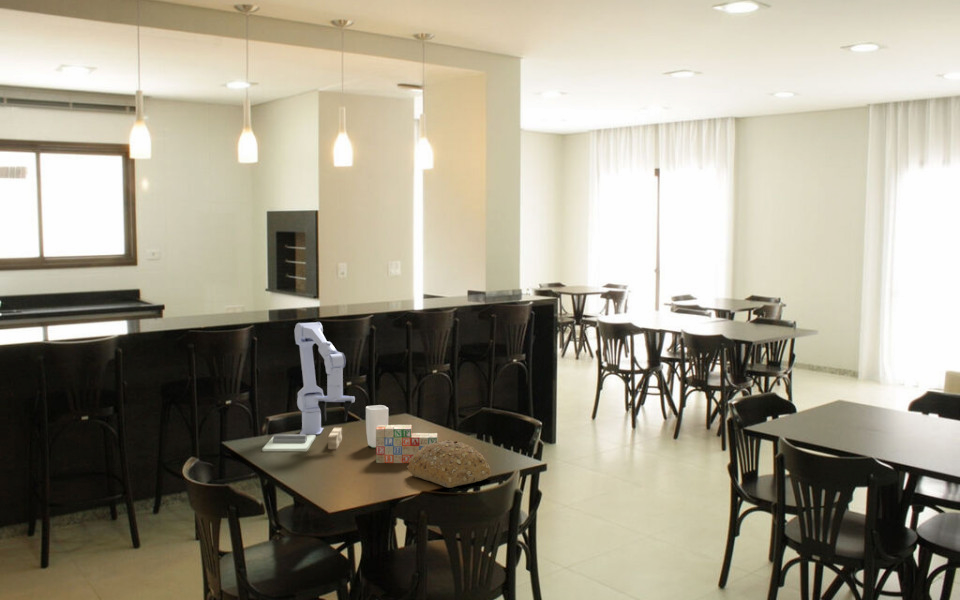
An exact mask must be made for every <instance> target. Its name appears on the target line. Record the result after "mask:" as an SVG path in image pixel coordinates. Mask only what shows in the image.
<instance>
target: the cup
mask: <svg viewBox="0 0 960 600" xmlns="http://www.w3.org/2000/svg"><path fill="white" fill-rule="evenodd" d="M378 425H389V407H387V406H386V405H382V404H378V405H377V404H376V405H367V406H365V429H366V431H365V432H366V438H367V444H368V446H369V447H371V448H372V449H376V428H377V426H378Z"/></svg>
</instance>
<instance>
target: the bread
mask: <svg viewBox="0 0 960 600" xmlns="http://www.w3.org/2000/svg"><path fill="white" fill-rule="evenodd" d="M406 467H407V469H408V473H409V474H410V475H412V476H413V477H414V478H419V479H422V480H424V481H426V482H427V481H428V482H431V483H434V484H435V485H436V484H437V485H439V486H442V487H445V488H449V489H450V488H454V487H459V486H463V485H468V484H473V483H477V482H481V481H483V480H486V479H488V478H489V477H490V476H491V475H492V469H491V468H490V465H489V462H488V461H487V459H486V458H484V455H482V453H481V452H479V450H476V449H475V448H474V447H473V446H470V445H468V444H467V443H464V442H459V441H453V440H450V439H446V440H443V441H441V440H439V441H437V442H435V443H432V444H428V445H427V446H424V447H423V448H422V449H421V450H419V451H418V452H417V453H416V454H414V455H413V457H412V458H411V459H410V463H408V465H407V466H406Z"/></svg>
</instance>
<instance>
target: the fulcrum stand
mask: <svg viewBox="0 0 960 600" xmlns="http://www.w3.org/2000/svg"><path fill="white" fill-rule="evenodd" d="M316 435H317V434H300V433H299V434H294V433H293V434H292V433H290V434H288V433H287V434H285V433H284V434H277V433H276V434H275V433H274V434H273V436H272V437H271V438H270V439H269V441H268V442H267V443H266V444H265V445H264V446H263V447H262V452H308V450H309V449H310V447H311V445H312V444H313V442H314V440H316Z"/></svg>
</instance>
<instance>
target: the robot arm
mask: <svg viewBox="0 0 960 600" xmlns="http://www.w3.org/2000/svg"><path fill="white" fill-rule="evenodd" d="M323 332H324V329H323V325H322V323H321V322H320V321H316V322H298V323H296V324H295V328H294V340H295V345H298V346H299V355H300V364H301V365H300V366H301V371H302V373H301V374H302V383H303V387H302V388H301V389H300V390H299V391H298V392H297V399H296V400H297V401H296V404H297V407H298V410H299V411H301V423H302V424H301V425H302V426H301V431H300V432H299V434H306V435H321V433H322V432H323V430H324V427H322V417H323V422H326V421H327V403H343V406H344V407H343V408H344V418H343V422H347V420H348V414H349V411H350V408H351V406H352V404H353V403H355V400H356V397H355V396H354V395H353V396H352V395H351V396H350V395H344V382H343V381H344V378H343V377H344V375H343V373H344V372H343V371H344V368H345V367H346V361H347V360H346V355H345V354H344V352H340V351H338V350H337V349H336V348H335V346H334V345H333V343H332V342H331V341H327V339H326V336H325V335H324V333H323ZM314 344H316V345H317V346H318V353H319V354H320V355H321V357H322V358H323V360H324V361H323V362H324V363H323V364H324V366H325V373H326V374H327V377H326V378H327V380H326V381H327V383H326V385H327V386H326V387H327V389H326V390H327V391H326V392H327V393H326V394H327V395H325V394H324V390H323V388H321V387H319V386H318V385H317V380H316V369H315V362H314V361H315V360H314V352H313V351H314V350H313V346H314Z"/></svg>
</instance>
